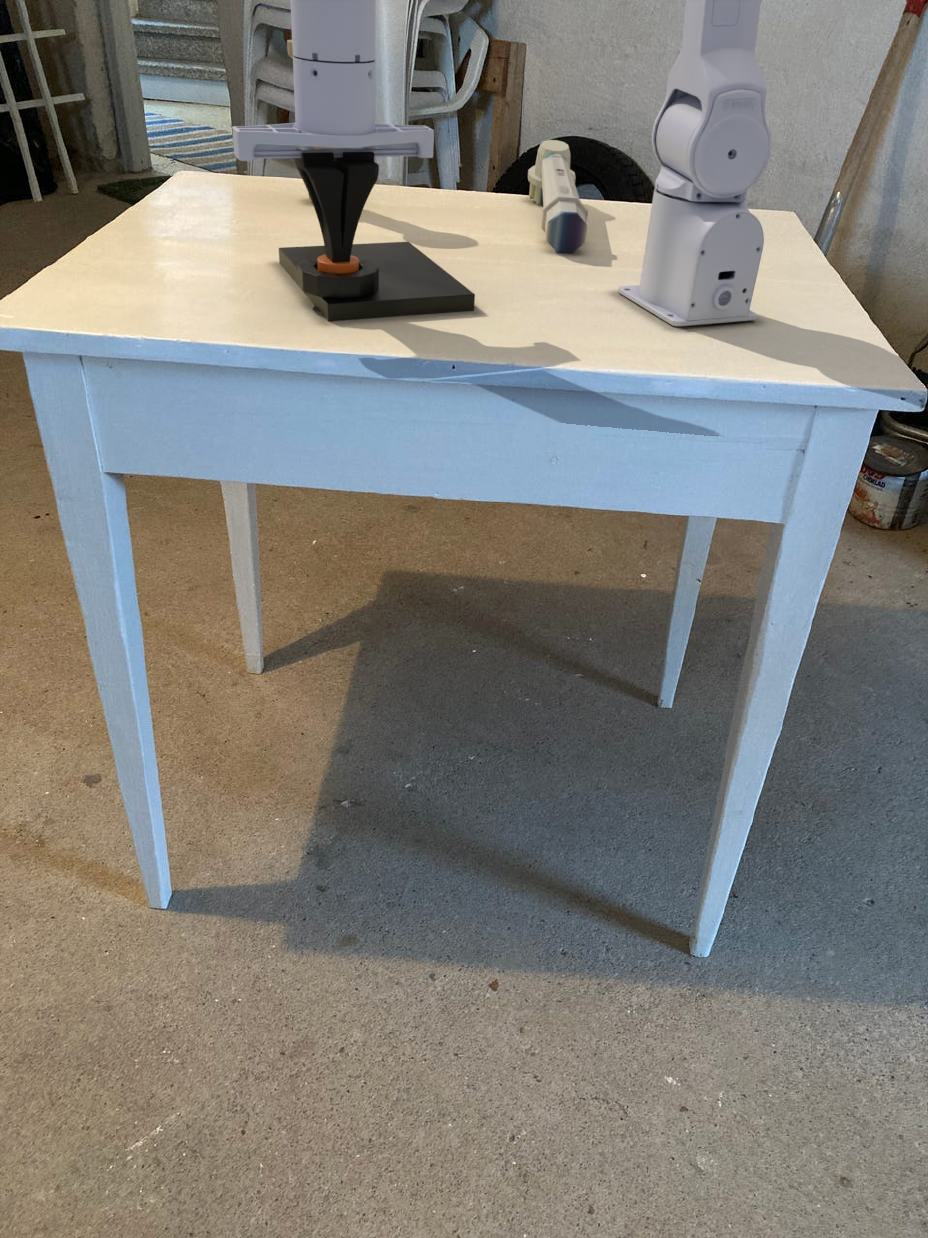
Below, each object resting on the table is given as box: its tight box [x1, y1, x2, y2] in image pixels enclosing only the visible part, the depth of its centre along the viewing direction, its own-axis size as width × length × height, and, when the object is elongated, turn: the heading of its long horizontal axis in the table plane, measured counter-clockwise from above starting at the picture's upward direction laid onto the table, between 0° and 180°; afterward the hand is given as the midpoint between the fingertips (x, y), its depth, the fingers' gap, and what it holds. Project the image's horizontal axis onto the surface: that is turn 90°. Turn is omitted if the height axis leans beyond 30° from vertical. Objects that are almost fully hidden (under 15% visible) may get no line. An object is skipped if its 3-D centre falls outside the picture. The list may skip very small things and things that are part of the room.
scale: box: [278, 241, 476, 322], centre depth 82 cm, size 16×13×3 cm
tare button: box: [317, 254, 359, 273], centre depth 77 cm, size 3×3×2 cm
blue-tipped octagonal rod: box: [527, 139, 589, 254], centre depth 104 cm, size 5×7×25 cm
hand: (337, 259), depth 76 cm, fingers closed, pressing on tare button
